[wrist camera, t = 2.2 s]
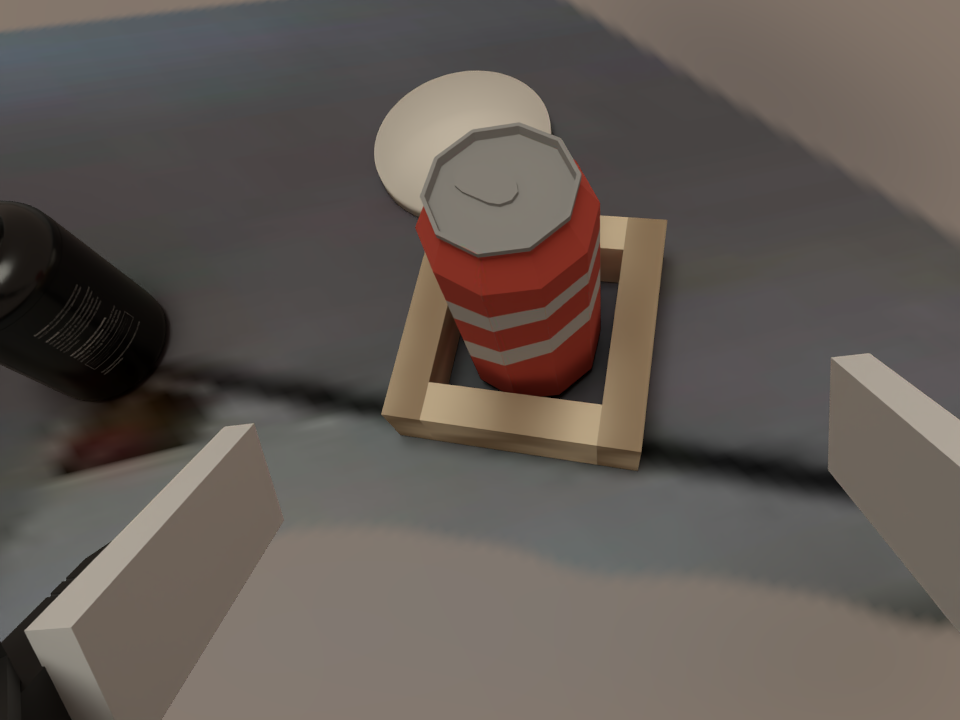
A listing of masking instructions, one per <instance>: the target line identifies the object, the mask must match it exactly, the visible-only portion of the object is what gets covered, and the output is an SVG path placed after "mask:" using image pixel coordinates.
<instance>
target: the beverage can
mask: <svg viewBox="0 0 960 720" xmlns="http://www.w3.org/2000/svg"><path fill="white" fill-rule="evenodd" d="M420 198H421V201H422V203H423V208H422V211H421V213H420V216H419V219H418V222H417V224H416V227H415V228H416V231H417V233H418V236H419V238H420V241H421V243H422V246H423V248H424V251H425V253H426V256H427V258H428V261H429V263H430V266H431V268H432V271H433V273H434V275H435V278H436V280H437V282H438V284H439V286H440V289H441V291H442V293H443V295H444V298H445V300H446V302H447V304H448V307H449V309H450V311H451V313H452V316H453V318H454V320H455V322H456V325H457V327H458V329H459V331H460V333H461V336H462V338H463V340H464V342H465V345H466V347H467V349H468V351H469V354H470V356H471V358H472V360H473V363H474V365H475V367H476V369H477V371H478V374H479V376H480V378H481V379H482V380H484V381H485V382H487V383H489V384H491V385H492V386H494V387H496V388H498V389H499V390H501V391H503V392H508V393H516V394H524V395H531V396H539V397H541V396H552V395H559V394H561V393H562V392H563V391H564V390H566V389H567V388H568V387H569V386H570V385H572V384H573V383H574V382H575V381H576V380H578V379H579V378H580V377H581V376H583V375H584V374H585V373H586V372H587V371H589V370H590V369H591V368H592V365H593V360H594V356H595V352H596V348H597V343H598V339H599V335H600V330H601V311H600V202H599V200H598V198H597V197H596V195H595V193H594V191H593V190H592V188H591V186H590V184H589V183H588V181H587V179H586V177H585V176H584V174H583V172H582V170H581V169H580V167H579V165H578V163H577V162H576V161H575V160H574V159H573V158H572V156H571V155H570V153H569V151H568V149H567V148H566V146H565V144H564V142H563V141H562V139H561V138H559V137H556V136H554V135H551V134H549V133H546V132H543V131H541V130H538V129H536V128H533V127H530V126H528V125H525V124H523V123H520V122H518V123H511V124H505V125H498V126H492V127H485V128H479V129H472V130H471V131H469V132H468V133H467V134H465V135H464V136H462V137H461V138H460V139H458V140H457V141H456V142H454V143H453V144H452V145H450V146H449V147H448V148H446V149H445V150H443V151H442V152H441V153H439V154H438V155H437V156H435V157H434V159H433V162H432V165H431V167H430V170H429V173H428V176H427V178H426V181H425V184H424V186H423V189H422V192H421V194H420Z"/></svg>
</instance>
